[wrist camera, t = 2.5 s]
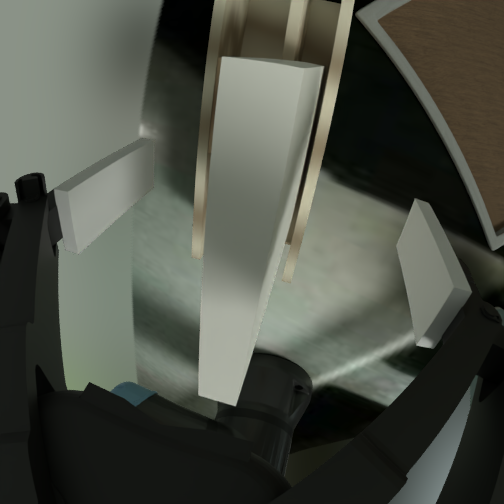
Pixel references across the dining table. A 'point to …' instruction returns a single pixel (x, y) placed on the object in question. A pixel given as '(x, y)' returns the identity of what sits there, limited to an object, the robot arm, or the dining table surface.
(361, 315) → the dining table surface
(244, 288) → the tall sheet
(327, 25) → the rack
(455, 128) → the picture frame
